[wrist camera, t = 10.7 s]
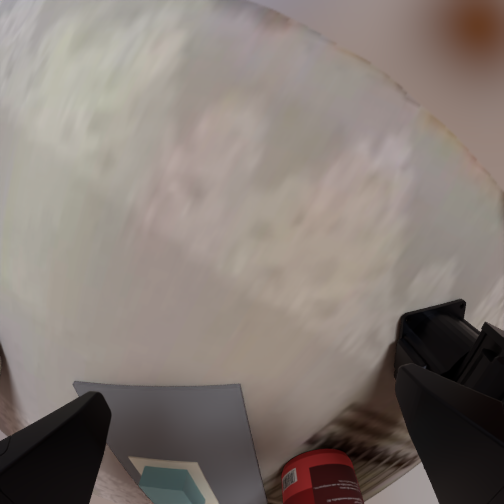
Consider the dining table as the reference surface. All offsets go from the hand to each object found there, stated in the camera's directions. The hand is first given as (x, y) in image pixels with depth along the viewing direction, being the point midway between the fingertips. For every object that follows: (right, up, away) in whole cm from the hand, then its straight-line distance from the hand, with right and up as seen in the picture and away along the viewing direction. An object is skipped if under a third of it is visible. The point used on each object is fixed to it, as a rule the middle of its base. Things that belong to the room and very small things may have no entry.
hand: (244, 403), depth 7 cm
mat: (-7, -18, +17) cm, 25 cm away
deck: (-9, -23, +17) cm, 30 cm away
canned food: (+7, -19, +17) cm, 26 cm away
